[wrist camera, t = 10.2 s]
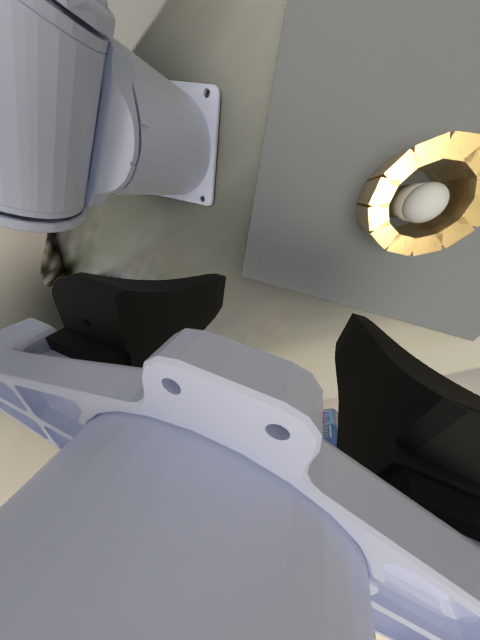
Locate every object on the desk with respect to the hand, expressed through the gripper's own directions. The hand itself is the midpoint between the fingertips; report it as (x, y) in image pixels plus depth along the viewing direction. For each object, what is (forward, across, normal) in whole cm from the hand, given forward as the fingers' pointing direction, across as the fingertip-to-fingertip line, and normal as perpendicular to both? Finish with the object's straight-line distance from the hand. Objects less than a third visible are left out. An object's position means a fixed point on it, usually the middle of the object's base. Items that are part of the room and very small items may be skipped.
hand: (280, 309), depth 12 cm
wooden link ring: (+10, -6, -6) cm, 13 cm away
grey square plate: (+10, -6, -6) cm, 13 cm away
